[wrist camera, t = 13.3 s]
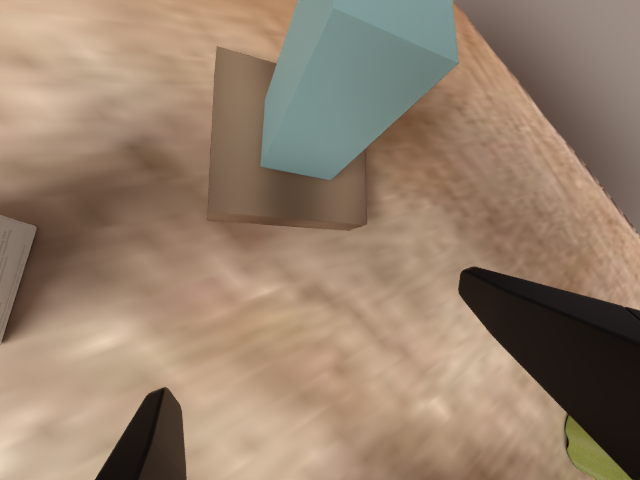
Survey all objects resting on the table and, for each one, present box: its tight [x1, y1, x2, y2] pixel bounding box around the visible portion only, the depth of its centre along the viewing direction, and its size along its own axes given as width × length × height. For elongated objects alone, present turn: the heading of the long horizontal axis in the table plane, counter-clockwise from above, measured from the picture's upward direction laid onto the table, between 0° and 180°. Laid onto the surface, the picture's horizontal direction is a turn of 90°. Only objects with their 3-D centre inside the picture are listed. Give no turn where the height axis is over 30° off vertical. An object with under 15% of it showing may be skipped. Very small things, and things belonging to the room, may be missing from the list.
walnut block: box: [207, 46, 367, 230], centre depth 19 cm, size 10×10×3 cm
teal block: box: [260, 0, 459, 180], centre depth 13 cm, size 4×4×10 cm
